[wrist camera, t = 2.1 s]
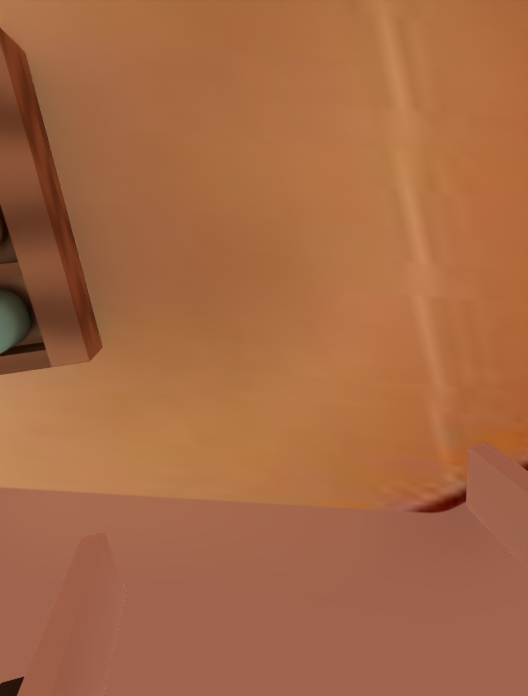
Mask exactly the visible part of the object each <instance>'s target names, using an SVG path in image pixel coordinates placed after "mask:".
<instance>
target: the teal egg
mask: <svg viewBox="0 0 528 696" xmlns="http://www.w3.org/2000/svg"><path fill="white" fill-rule="evenodd" d="M31 327H32V316H31V312H30V310H29V308H28V306H27V304H26V303H25V302H24V301H23V300H22V299H21V298H20V297H19V296H18V295H16V294H15V293H13V292H11V291H9V290H7V289H4V288H0V354H1V353H2V352H4V351H6V350H8V349H9V348H11V347H13V346H14V345H16V344H18V343H20V342H21V341H23V340H24V339H25V338H26V337H27V336H28V334H29V333H30V330H31Z"/></svg>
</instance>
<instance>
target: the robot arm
mask: <svg viewBox="0 0 528 696" xmlns="http://www.w3.org/2000/svg"><path fill="white" fill-rule="evenodd" d="M466 507H467V508H468V509H469V510H470V511H471V512H472V513H473V514H474V515H475V516H476V517H477V518H478V519H479V520H480V521H481V522H482V523H483V524H484V525H485V527H487V529H488V530H489V531H490V532H491V533H492V534H493V535H494V536H495V537H496V538H497V539H498V540H499V541H500V542H501V543H502V544H503V545H504V546H505V547H506V548H507V549H508V550H509V551H510V552H511V553H512V554H513V555H514V556H515V557H516V558H517V559H518V560H519V561H520V562H521V563H522V564H523V565H524V566H525V567H526V568H527V569H528V471H526V470H525V469H523V468H522V467H521V466H519V465H518V464H517V463H515V462H514V461H512V460H511V459H510V458H508V457H507V456H505V455H504V454H503V453H501V452H500V451H498V450H497V449H496V448H494V447H493V446H491V445H490V444H489V443H483V444H479V445H475V446H471V447H469V449H468V473H467V496H466ZM126 594H127V592H126V590H125V587H124V584H123V581H122V578H121V576H120V573H119V570H118V567H117V564H116V562H115V559H114V556H113V553H112V550H111V548H110V545H109V542H108V539H107V537H106V534H105V532H104V533H99V534H96V535H91V536H87V537H82V538H81V539H80V541H79V544H78V546H77V549H76V552H75V554H74V556H73V559H72V561H71V564H70V566H69V569H68V571H67V573H66V576H65V578H64V581H63V584H62V586H61V588H60V591H59V593H58V596H57V598H56V601H55V603H54V605H53V608H52V610H51V613H50V615H49V618H48V620H47V623H46V625H45V628H44V630H43V633H42V635H41V638H40V640H39V642H38V645H37V648H36V650H35V652H34V655H33V657H32V660H31V662H30V665H29V667H28V670H27V672H26V674H25V677H21V678H17V679H14V680H10V681H7V682H3V683H1V684H0V696H105V692H106V687H107V682H108V678H109V673H110V668H111V664H112V659H113V655H114V650H115V645H116V640H117V636H118V631H119V627H120V622H121V617H122V613H123V608H124V603H125V598H126Z"/></svg>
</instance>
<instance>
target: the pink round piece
mask: <svg viewBox="0 0 528 696" xmlns="http://www.w3.org/2000/svg"><path fill="white" fill-rule="evenodd" d="M2 237H3V225H2V221H1V218H0V243H1V241H2Z"/></svg>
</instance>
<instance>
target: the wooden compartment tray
mask: <svg viewBox="0 0 528 696" xmlns="http://www.w3.org/2000/svg"><path fill="white" fill-rule="evenodd" d="M0 218H1V221H2V225H3V237H2V241H1V243H0V288H4V289H7V290H9V291H11V292H13V293H15V294H16V295H18V296H19V297H20V298H21V299H22V300H23V301H24V302H25V303H26V304H27V306H28V308H29V310H30V312H31V316H32V327H31V330H30V333H29V334H28V336H27V337H26V338H25V339H24V340H23V341H21V342H20V343H18V344H16V345H14V346H13V347H11V348H9V349H8V350H6V351H4V352H2V353H1V354H0V375H2V374H9V373H15V372H22V371H29V370H36V369H43V368H49V367H56V366H63V365H70V364H76V363H83V362H90V360H91V359H92V358H93V357H94V356H95V355H96V354H97V353H98V352H99V351H100V350H101V348H102V344H101V340H100V336H99V332H98V328H97V325H96V321H95V317H94V313H93V309H92V306H91V302H90V298H89V294H88V290H87V287H86V283H85V279H84V275H83V271H82V268H81V264H80V260H79V256H78V252H77V249H76V245H75V241H74V237H73V233H72V230H71V226H70V222H69V218H68V214H67V211H66V207H65V203H64V199H63V195H62V192H61V188H60V184H59V180H58V176H57V173H56V169H55V165H54V161H53V157H52V154H51V150H50V146H49V142H48V138H47V135H46V131H45V127H44V123H43V119H42V116H41V112H40V108H39V104H38V100H37V97H36V93H35V89H34V85H33V81H32V78H31V74H30V70H29V66H28V62H27V59H26V55H25V52H24V51H23V50H22V49H21V48H20V47H19V46H18V45H17V44H16V43H15V42H14V41H13V40H12V39H11V38H10V37H9V36H8V35H7V34H6V33H5V32H4V31H3V30H2V29H1V28H0Z"/></svg>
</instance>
